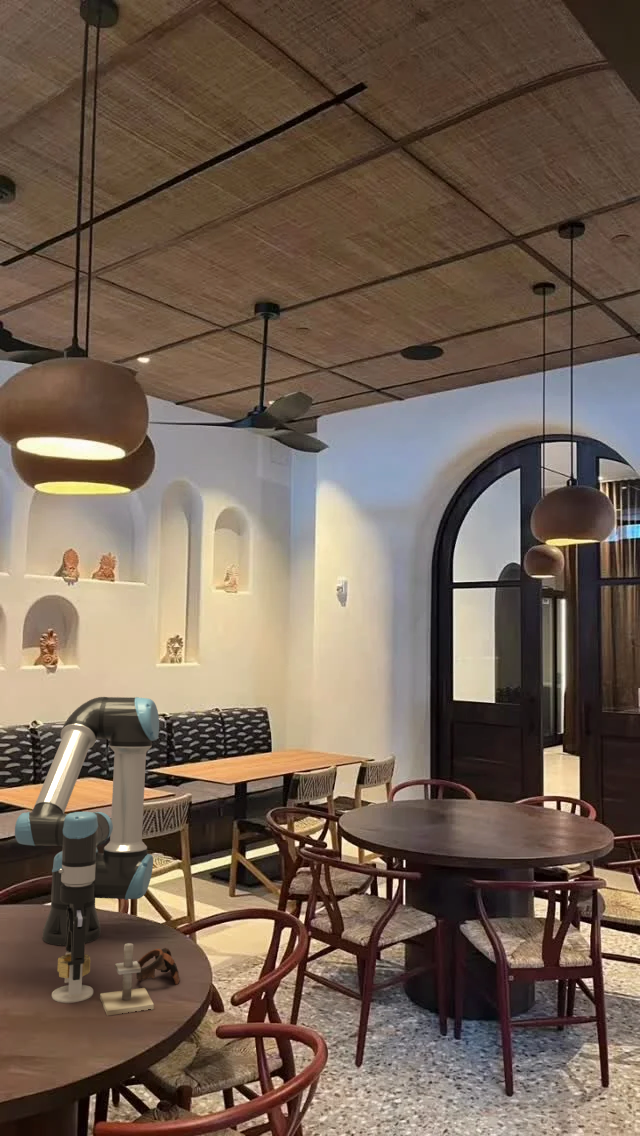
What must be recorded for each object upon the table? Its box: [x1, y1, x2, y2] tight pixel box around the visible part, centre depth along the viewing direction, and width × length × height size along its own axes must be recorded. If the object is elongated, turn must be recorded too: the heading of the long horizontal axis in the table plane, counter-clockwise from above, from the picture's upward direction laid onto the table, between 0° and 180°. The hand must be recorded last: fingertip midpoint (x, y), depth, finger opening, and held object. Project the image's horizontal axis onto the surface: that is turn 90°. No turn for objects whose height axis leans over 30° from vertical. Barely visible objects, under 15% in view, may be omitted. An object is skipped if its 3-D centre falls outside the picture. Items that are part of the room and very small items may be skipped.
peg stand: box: [99, 942, 155, 1016], centre depth 190 cm, size 10×10×12 cm
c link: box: [57, 953, 91, 979], centre depth 194 cm, size 7×7×3 cm
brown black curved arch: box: [136, 947, 181, 986], centre depth 203 cm, size 12×9×8 cm
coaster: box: [51, 984, 94, 1004], centre depth 193 cm, size 9×9×1 cm
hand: (72, 987), depth 193 cm, fingers closed on c link, 7 cm apart
